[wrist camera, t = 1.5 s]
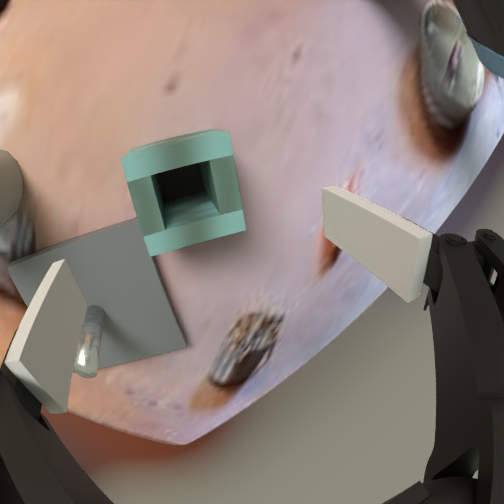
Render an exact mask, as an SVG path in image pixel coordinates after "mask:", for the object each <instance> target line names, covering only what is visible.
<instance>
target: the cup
mask: <svg viewBox="0 0 504 504" xmlns="http://www.w3.org/2000/svg"><path fill="white" fill-rule="evenodd" d="M22 196H23V176H22V173H21V170H20V168H19V165H18V162H17V161H16V160H15V159H14V157H13V156H12V155H11V154H10V153H9V152H8V151H4V150H0V227H1V226H2V225H3V224H4V223H6V222H7V221H8V220H9V219H10V218H11V217H12V216H13V215H14V214H15V212H16V211H17V210H18V209H19V206H20V202H21V199H22Z"/></svg>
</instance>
